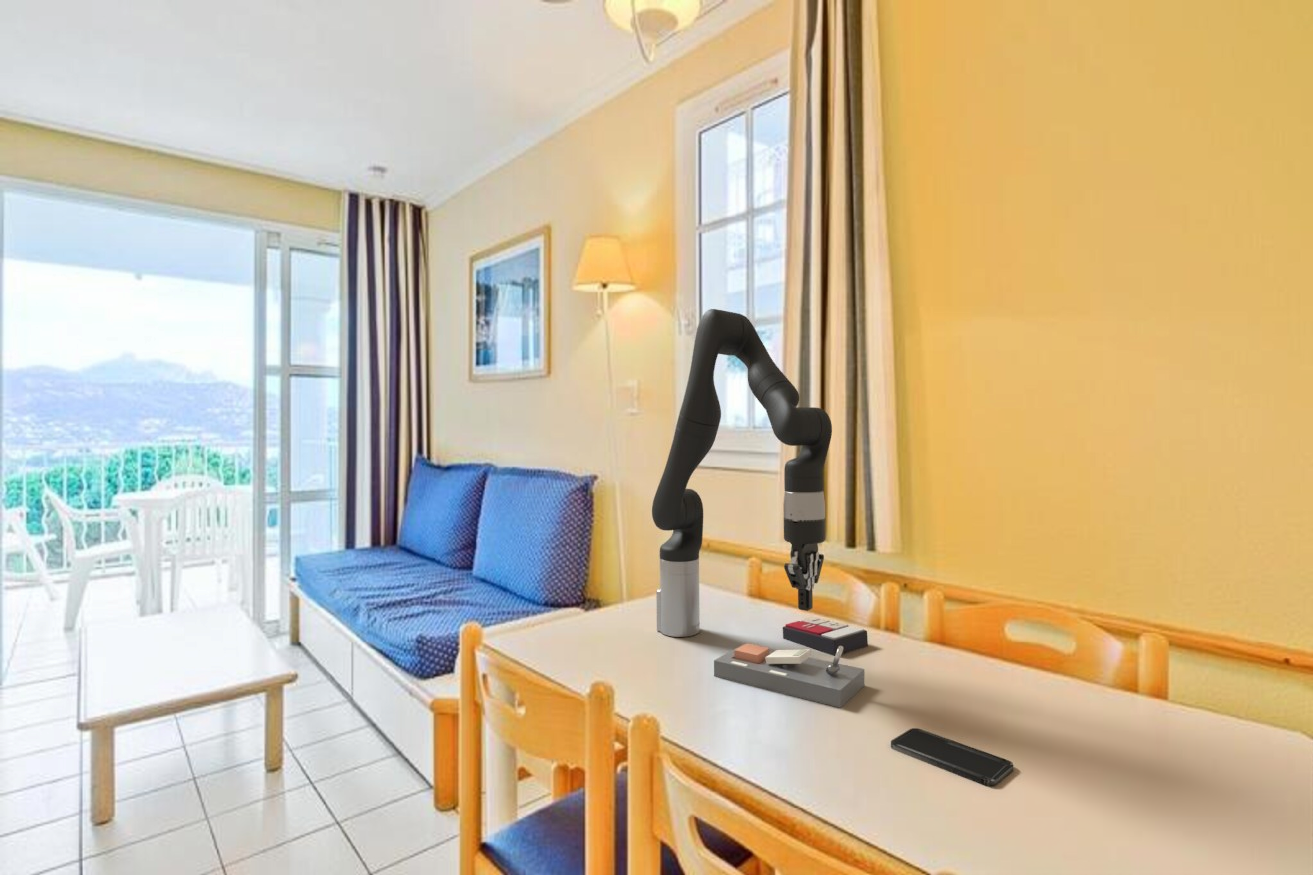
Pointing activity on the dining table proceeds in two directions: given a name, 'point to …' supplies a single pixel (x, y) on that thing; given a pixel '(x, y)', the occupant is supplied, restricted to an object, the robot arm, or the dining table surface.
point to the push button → (751, 653)
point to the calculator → (826, 635)
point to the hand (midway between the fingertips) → (805, 609)
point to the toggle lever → (835, 663)
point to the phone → (953, 756)
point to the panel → (795, 678)
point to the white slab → (788, 656)
